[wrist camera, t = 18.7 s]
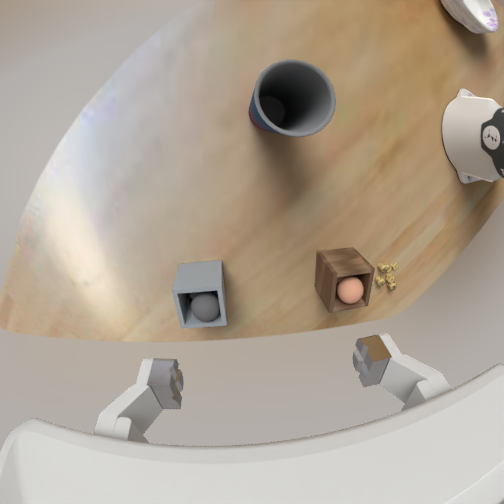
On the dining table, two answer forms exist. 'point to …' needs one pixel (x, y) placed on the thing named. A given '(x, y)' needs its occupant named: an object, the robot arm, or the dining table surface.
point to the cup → (292, 99)
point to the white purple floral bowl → (473, 14)
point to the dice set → (389, 277)
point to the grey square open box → (199, 280)
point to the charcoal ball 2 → (205, 306)
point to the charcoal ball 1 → (198, 293)
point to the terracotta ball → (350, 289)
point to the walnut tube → (341, 265)
